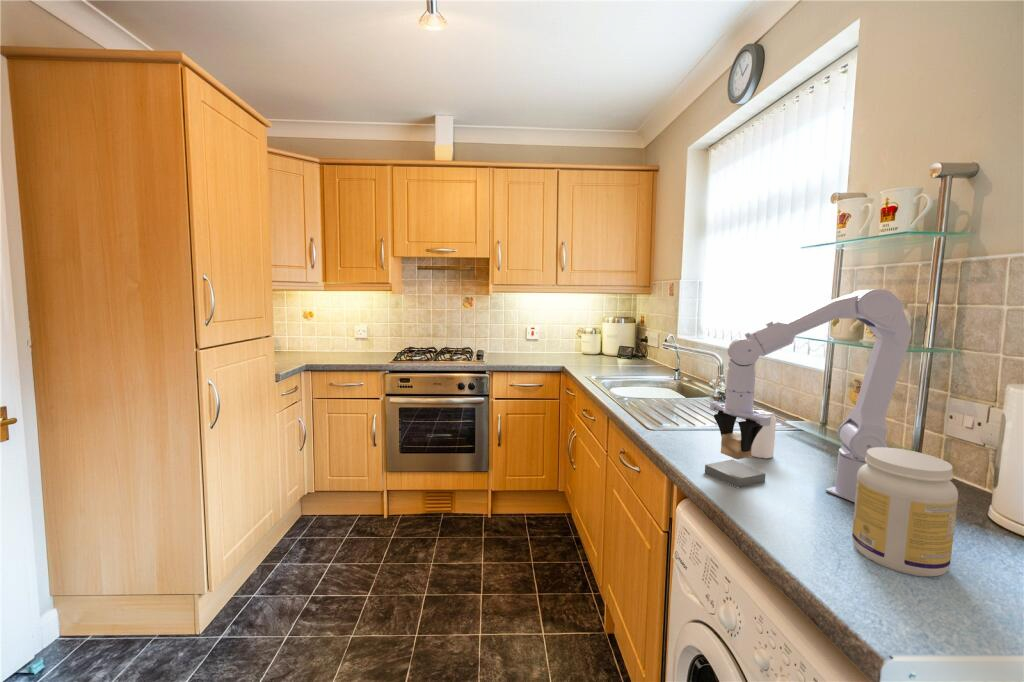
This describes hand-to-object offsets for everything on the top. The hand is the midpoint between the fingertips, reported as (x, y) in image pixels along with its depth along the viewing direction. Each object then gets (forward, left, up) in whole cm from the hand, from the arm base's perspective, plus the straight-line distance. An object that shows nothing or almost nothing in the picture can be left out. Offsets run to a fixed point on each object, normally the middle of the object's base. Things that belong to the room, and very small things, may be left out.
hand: (736, 447), depth 102 cm
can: (+8, -19, -7) cm, 22 cm away
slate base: (0, 0, -7) cm, 7 cm away
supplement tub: (-33, +2, -8) cm, 34 cm away
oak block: (0, 0, -2) cm, 2 cm away
